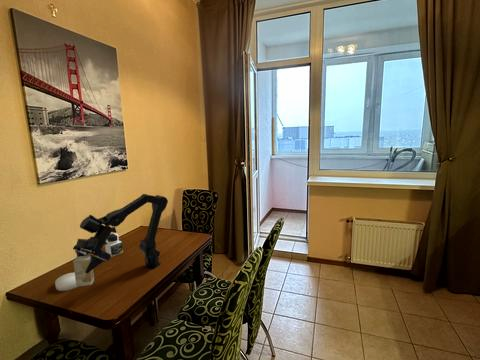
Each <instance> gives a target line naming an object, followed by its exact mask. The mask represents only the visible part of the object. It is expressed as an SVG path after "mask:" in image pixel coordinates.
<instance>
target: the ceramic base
mask: <svg viewBox="0 0 480 360" xmlns="http://www.w3.org/2000/svg"><path fill="white" fill-rule="evenodd" d="M54 283H55V285H54V286H55V289H56V291H59V292H65V291H69V290H73V289H75V288H77V287H76V279H75V271H73V272H69V273H66V274H63V275H60V276H59V277H58V278H57V279H55V281H54Z"/></svg>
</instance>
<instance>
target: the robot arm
mask: <svg viewBox="0 0 480 360" xmlns="http://www.w3.org/2000/svg"><path fill="white" fill-rule="evenodd" d="M148 203H150V204H151V208H152V212H151V216H150V219H149V225H148V229H147V232H146V234H145V235H146V236H145V237H144V238H143V239H140V242H139V243H140V244H139V245H138V247H139V250H140V252H141V253H143V254H144V255H145V256H144V261H145V262H144V263H145V265H143V268H145V269H146V268H147V269H150V270H155V269H156V268H157V267H159V266H160V265H161V264H162V263H161V262H160V259H159V257H160V254H161V251H158V250H157V249H156V247H157V243H156V236H157V233H158V229H159V225H160V221H161V217H162V213H163V212H164V211H165V210H166V207H167V206H168V203H169V200H168V198H167V197H165V196H163V195H160V194H156V195H152V194H151V195H150V194H146V193H143V194H141V196H139V197H138V198H136V199H133V200H132V201H131V202H129V203H128V204H126V205H125V206H122V207H121V208H118V209H116V210H115V209H114V210H113V211H110V212H108V213H107V214H105V215H104V216H101V217H99V218H97V217H96V216H94V215H92V214H89V215H88V216H86V217H85V218H84V219H82V221H81V222H80V225H79V229H82V230H84V231H86V232H88V233H90V234H94V233H95V234H94V236H90V237H89V238H77V241H76V244H75V245H74V246H73V247H72V250H73V251H74V252H75V253H76V257H79V256H88V254H90V255H91V262H90V264H89V266H88V268H87V270H86V272H85V273H89V272H90V271H91V270H93V271H94V269H95V268H96V267H98V266H99V265H101V264H102V263H103V262H106V261H107V262H109V261H110V260H111V258H112V257H111V254H109V253H107V252H106V250H102V249H103V247H105V245H107V242H108V240H107V239H108V237H109V235H110V234H113V233H116V234H117V230H116V227H119V226H120V225H121V224H122V223H123V222H124V221H125V220H126V218H127V217H128V216H130V215H131V214H132V213H134V212H136V210H139V209H141V207H143V206H144V205H146V204H148Z"/></svg>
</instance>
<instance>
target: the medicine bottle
mask: <svg viewBox="0 0 480 360" xmlns="http://www.w3.org/2000/svg"><path fill="white" fill-rule="evenodd" d="M119 239H120V238H119V234H118V233H117V232H116V233H113V232H112V233H111V234H110V235H109V237H108V239H107V241H106V242H107V245H104V247H105V252H107V253H109V254H111V258H112V257H115V256H117V255H118V256H119V255H120V254H123V252H124V250H123V249H124V248H123V241H121V240H119Z"/></svg>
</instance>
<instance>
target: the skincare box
mask: <svg viewBox="0 0 480 360" xmlns="http://www.w3.org/2000/svg"><path fill="white" fill-rule="evenodd" d="M91 255H92V254H90V255H88V254H87V256H79V257H77V256H76V257H75V258H74V260H73V261H72V262H73V269H74V271H73V272H75V279H76V288H77V287H84V286H92V285H93V283H94V282H95V275H94V274H95V273H94V269H93V270H91V271H90V272H89V273H85V272H86V270H87V268H88V266H89V264H90V262H91Z"/></svg>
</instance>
